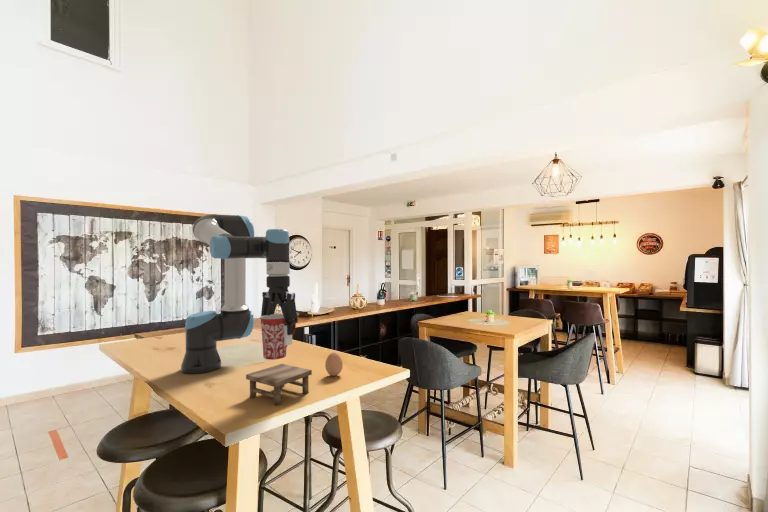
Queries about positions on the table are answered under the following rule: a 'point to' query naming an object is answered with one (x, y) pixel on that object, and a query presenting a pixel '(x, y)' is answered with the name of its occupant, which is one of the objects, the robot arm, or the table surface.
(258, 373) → the stool
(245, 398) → the table surface
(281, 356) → the mug
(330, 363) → the egg
